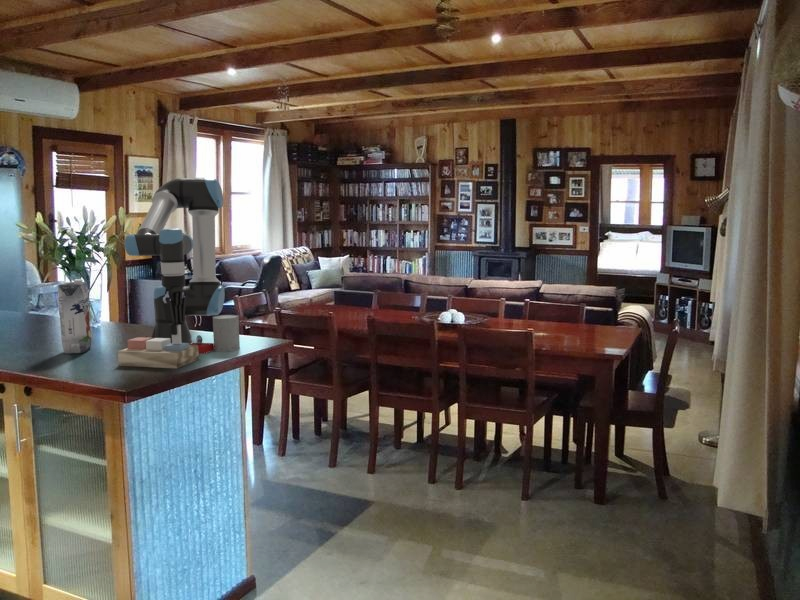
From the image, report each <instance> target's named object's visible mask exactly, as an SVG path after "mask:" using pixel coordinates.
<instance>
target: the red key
mask: <svg viewBox="0 0 800 600" xmlns="http://www.w3.org/2000/svg"><path fill="white" fill-rule="evenodd" d="M150 339H152V337H141V336H139V337H133V338H130V339H127V340H126V341H127V342H126V343H127V348H128V349H146V341H147V340H150Z"/></svg>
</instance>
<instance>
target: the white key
mask: <svg viewBox="0 0 800 600" xmlns="http://www.w3.org/2000/svg"><path fill="white" fill-rule="evenodd" d="M168 344H171V339H170V338H154V339H150V340H147V341H146V350H164V349H165V345H168Z"/></svg>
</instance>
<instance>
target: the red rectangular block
mask: <svg viewBox="0 0 800 600" xmlns="http://www.w3.org/2000/svg"><path fill="white" fill-rule="evenodd" d="M195 340H196V342H191V343H189V345H198V353H199V354H209V353H210V352H212V351H215V350H214V342H213V343H212V342H203V336H202V335H200V334H199V335H197V336H196V339H195Z"/></svg>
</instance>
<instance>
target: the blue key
mask: <svg viewBox="0 0 800 600" xmlns="http://www.w3.org/2000/svg"><path fill="white" fill-rule="evenodd" d="M189 344H190V342H189V343H182V344H172V343H171V344H168V345H165V351H183V350H185V349H188V348H189Z"/></svg>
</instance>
